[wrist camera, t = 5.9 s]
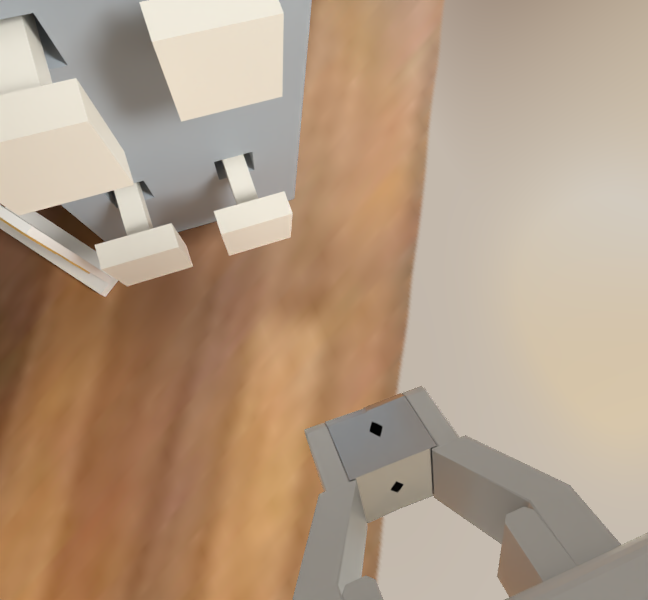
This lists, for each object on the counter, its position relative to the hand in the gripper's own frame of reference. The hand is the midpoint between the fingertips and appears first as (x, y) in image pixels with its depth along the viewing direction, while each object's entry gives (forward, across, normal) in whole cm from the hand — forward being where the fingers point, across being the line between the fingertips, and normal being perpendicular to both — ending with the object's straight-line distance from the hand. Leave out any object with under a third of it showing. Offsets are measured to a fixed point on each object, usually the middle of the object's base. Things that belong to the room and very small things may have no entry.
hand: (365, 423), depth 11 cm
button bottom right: (+17, 0, +1) cm, 17 cm away
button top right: (+11, 0, -8) cm, 14 cm away
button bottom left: (+17, +6, +1) cm, 18 cm away
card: (+22, +12, +2) cm, 25 cm away
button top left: (+10, +6, -6) cm, 13 cm away
